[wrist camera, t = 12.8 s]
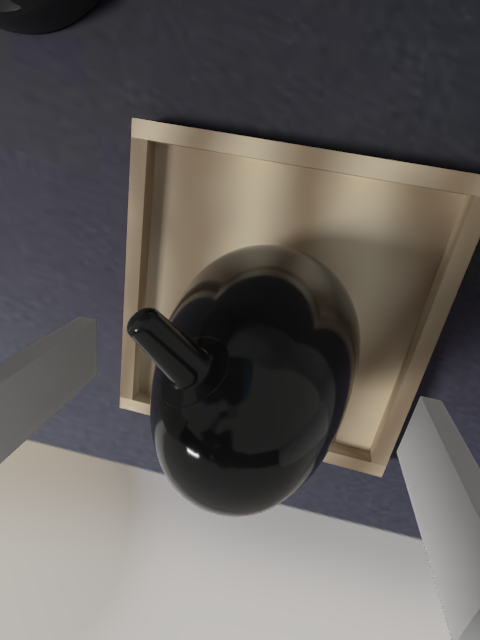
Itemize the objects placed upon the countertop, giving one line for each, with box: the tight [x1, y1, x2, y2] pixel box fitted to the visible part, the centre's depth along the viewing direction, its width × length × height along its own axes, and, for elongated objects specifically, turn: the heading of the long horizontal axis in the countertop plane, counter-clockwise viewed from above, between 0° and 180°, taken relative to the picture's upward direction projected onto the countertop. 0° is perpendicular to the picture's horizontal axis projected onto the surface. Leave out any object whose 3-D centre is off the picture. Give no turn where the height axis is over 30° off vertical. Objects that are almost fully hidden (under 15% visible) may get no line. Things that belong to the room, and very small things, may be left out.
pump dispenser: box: [127, 245, 360, 517], centre depth 17 cm, size 10×10×15 cm
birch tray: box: [120, 118, 480, 477], centre depth 24 cm, size 20×20×2 cm
